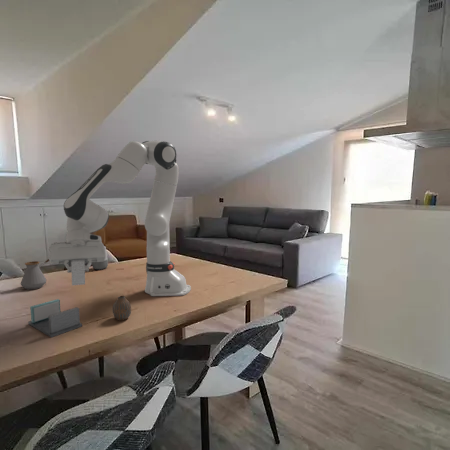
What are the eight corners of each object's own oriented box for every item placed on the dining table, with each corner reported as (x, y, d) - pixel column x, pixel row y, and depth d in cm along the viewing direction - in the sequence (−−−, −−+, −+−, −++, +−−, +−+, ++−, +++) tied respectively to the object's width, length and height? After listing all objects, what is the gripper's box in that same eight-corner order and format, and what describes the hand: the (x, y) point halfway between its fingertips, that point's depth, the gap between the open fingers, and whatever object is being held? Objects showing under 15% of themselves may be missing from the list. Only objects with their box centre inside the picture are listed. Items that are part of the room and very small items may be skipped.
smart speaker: (94, 267, 206) (93, 245, 204) (109, 266, 208) (108, 245, 206) (90, 271, 197) (89, 248, 195) (106, 270, 199) (105, 247, 197)
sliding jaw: (31, 321, 120) (30, 306, 119) (58, 313, 128) (57, 299, 127) (33, 323, 118) (32, 307, 118) (61, 314, 126) (60, 300, 126)
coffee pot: (30, 292, 158) (28, 262, 156) (15, 289, 162) (13, 259, 161) (68, 280, 177) (66, 253, 175) (54, 278, 182) (52, 252, 180)
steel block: (85, 281, 127) (84, 258, 126) (85, 284, 123) (84, 261, 122) (72, 282, 125) (71, 259, 124) (71, 285, 121) (71, 261, 120)
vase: (133, 314, 129) (132, 293, 128) (129, 321, 122) (128, 299, 121) (116, 315, 129) (115, 293, 128) (110, 322, 122) (109, 299, 121)
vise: (28, 324, 120) (27, 306, 119) (58, 314, 129) (57, 297, 128) (51, 337, 109) (49, 317, 109) (82, 326, 118) (81, 308, 117)
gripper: (48, 238, 124) (46, 268, 117) (105, 236, 132) (106, 264, 125) (50, 247, 129) (48, 277, 121) (104, 245, 137) (106, 273, 129)
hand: (78, 271), depth 123 cm, fingers closed on steel block, 4 cm apart
